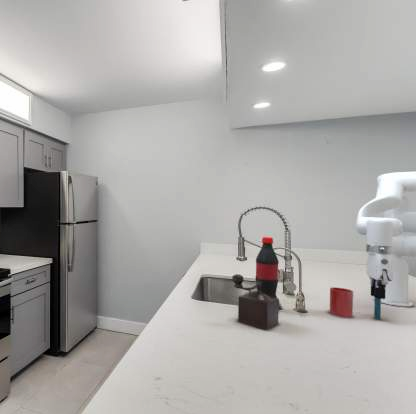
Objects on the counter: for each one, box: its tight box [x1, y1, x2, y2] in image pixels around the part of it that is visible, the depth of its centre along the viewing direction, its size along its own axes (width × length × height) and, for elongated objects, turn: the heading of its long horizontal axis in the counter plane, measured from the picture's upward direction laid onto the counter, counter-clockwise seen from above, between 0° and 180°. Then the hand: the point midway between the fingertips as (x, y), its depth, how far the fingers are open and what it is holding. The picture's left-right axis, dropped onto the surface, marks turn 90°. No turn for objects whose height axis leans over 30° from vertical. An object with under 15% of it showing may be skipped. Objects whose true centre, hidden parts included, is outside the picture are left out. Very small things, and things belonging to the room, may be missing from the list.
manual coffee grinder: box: [231, 273, 280, 331], centre depth 113 cm, size 16×11×18 cm
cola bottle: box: [255, 236, 280, 298], centre depth 132 cm, size 8×8×30 cm
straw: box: [373, 282, 382, 320], centre depth 122 cm, size 2×2×14 cm
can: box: [329, 287, 354, 319], centre depth 126 cm, size 7×7×10 cm
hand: (377, 296), depth 122 cm, fingers closed
